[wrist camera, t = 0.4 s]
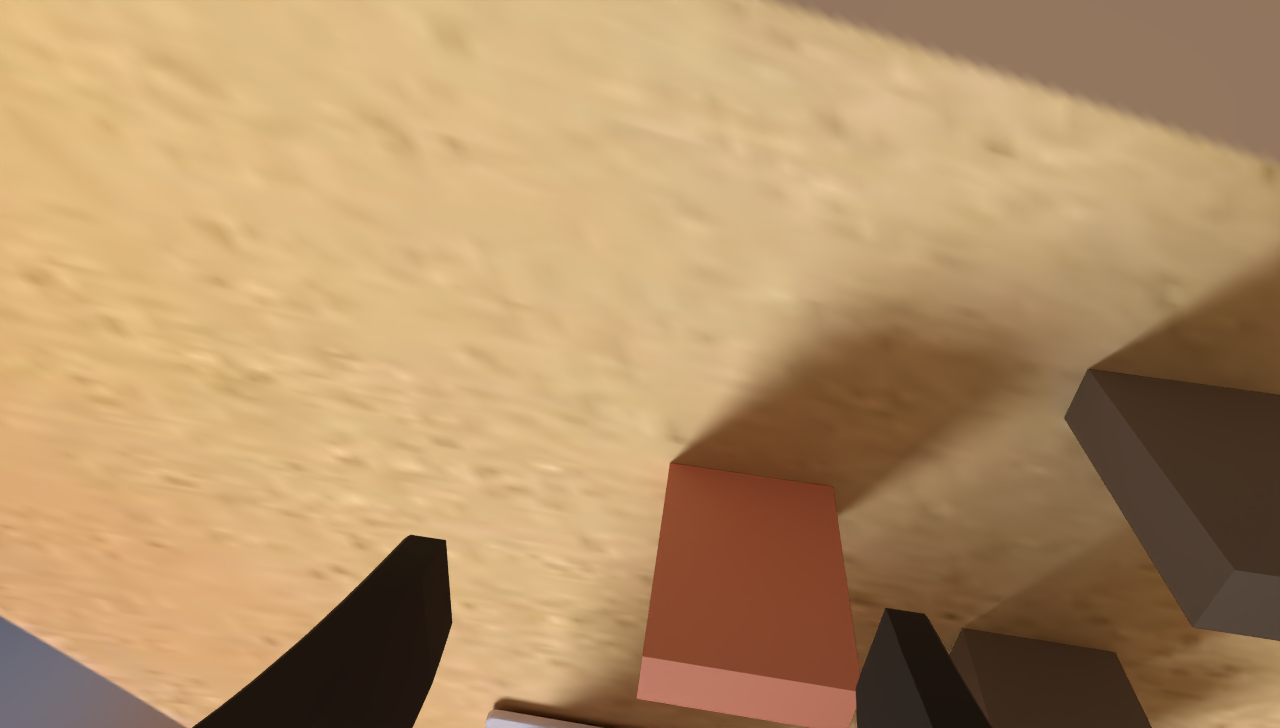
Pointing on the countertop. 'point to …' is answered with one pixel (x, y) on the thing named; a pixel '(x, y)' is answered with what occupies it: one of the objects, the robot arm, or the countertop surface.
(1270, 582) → the domino
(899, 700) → the robot arm
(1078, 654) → the domino
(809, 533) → the domino
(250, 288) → the countertop surface
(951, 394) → the countertop surface
